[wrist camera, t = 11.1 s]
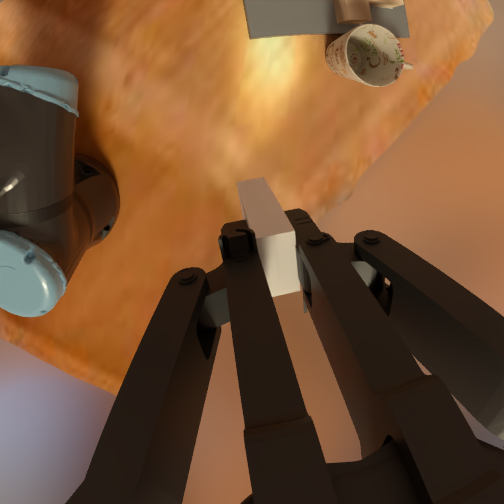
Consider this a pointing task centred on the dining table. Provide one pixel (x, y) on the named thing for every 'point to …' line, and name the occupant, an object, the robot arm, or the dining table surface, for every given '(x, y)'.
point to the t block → (359, 9)
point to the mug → (367, 56)
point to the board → (313, 18)
